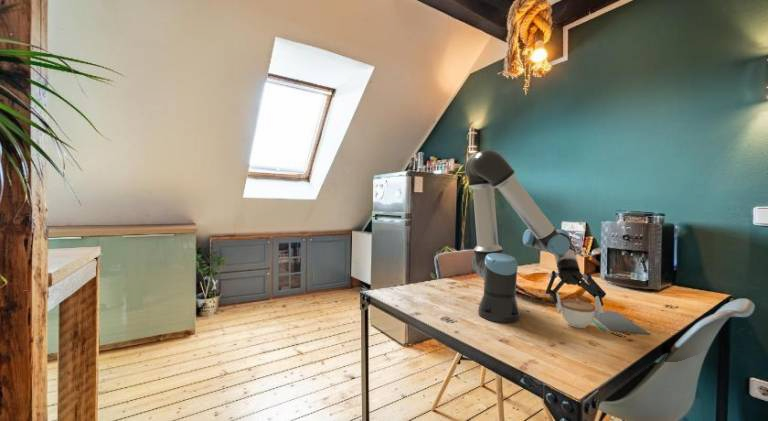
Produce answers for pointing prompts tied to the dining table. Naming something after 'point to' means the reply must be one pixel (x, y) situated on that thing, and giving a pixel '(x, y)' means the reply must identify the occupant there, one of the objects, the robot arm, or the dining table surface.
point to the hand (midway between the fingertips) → (580, 312)
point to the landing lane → (617, 323)
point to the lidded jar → (577, 312)
